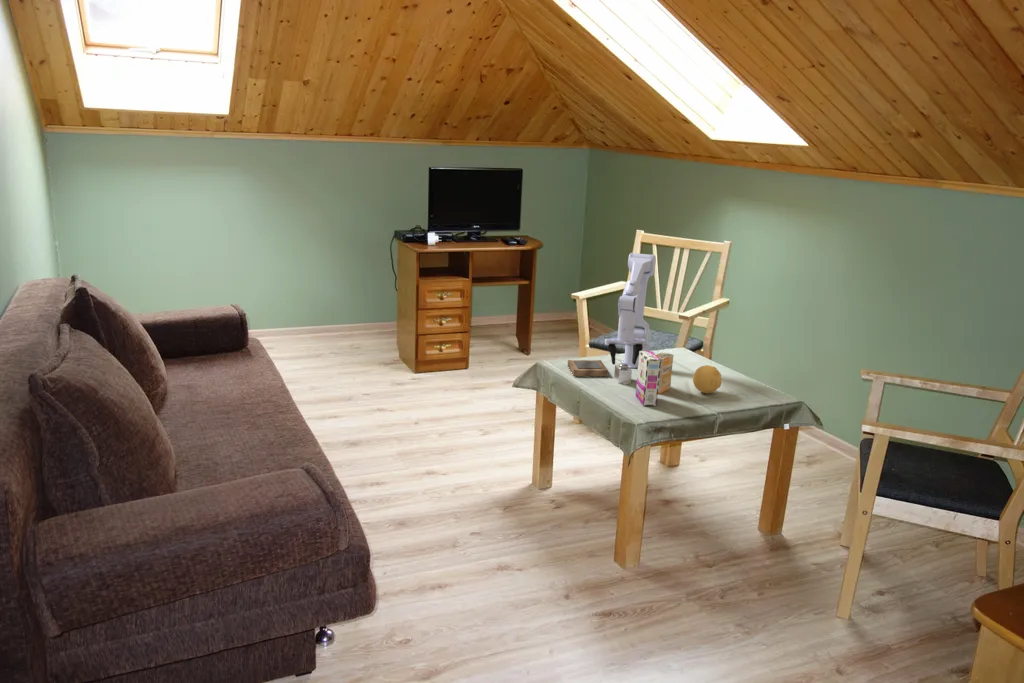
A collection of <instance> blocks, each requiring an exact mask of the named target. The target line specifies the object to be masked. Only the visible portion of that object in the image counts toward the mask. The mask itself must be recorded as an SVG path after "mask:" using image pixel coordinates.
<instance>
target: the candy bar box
mask: <svg viewBox="0 0 1024 683" xmlns="http://www.w3.org/2000/svg"><path fill="white" fill-rule="evenodd" d="M656 355H657V354H656V353H655V352H654V351H653V350H652V351H651V350H650V351H639V362H638V368H637V375H636V387H635V397H636V398H637V400H639V402H640V403H641V404H642V406H644V407H658V406H657V404H658V396H659V394H658V385H659V376H660V365H661V360H660V359H659V358H658V357H657V356H656Z"/></svg>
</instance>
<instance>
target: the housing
mask: <svg viewBox="0 0 1024 683" xmlns="http://www.w3.org/2000/svg"><path fill="white" fill-rule="evenodd" d="M613 373H614V375H613V378H614V380H615V379H616V380H615V381H616V383H617V384H618V385H619V384H622V385H628V384H629V385H630V384H631V383H632V368H629V367H628V364H625V363H622V362H620V363H619V364H614V372H613Z"/></svg>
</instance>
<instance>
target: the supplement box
mask: <svg viewBox="0 0 1024 683" xmlns="http://www.w3.org/2000/svg"><path fill="white" fill-rule="evenodd" d="M655 355H656V356H657V357H658V358H659V359H660V360H661V365H660V376H659V385H658V395H661V394H662V393H665V392H666V391H669V390H670V389H671V385H672V384H671V383H672V375H673V374H672V373H673V365H674V354H673V353H669V352H660V353H657V354H655Z"/></svg>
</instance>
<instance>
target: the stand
mask: <svg viewBox="0 0 1024 683" xmlns="http://www.w3.org/2000/svg"><path fill="white" fill-rule="evenodd" d="M568 367H569V368H568ZM567 368H568V370H569V369H570V370H569V371H570V373H571V372H572V373H571V375H572V374H573V375H572V376H588V377H587V378H591V377H592V376H609V369H608V368H607V366H605V364H604V363H603V361H602V360H601V359H594V360H593V359H587V360H586V359H583V360H581V359H575V360H574V359H572V360H571V359H568V360H567ZM589 376H591V377H589Z"/></svg>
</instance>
